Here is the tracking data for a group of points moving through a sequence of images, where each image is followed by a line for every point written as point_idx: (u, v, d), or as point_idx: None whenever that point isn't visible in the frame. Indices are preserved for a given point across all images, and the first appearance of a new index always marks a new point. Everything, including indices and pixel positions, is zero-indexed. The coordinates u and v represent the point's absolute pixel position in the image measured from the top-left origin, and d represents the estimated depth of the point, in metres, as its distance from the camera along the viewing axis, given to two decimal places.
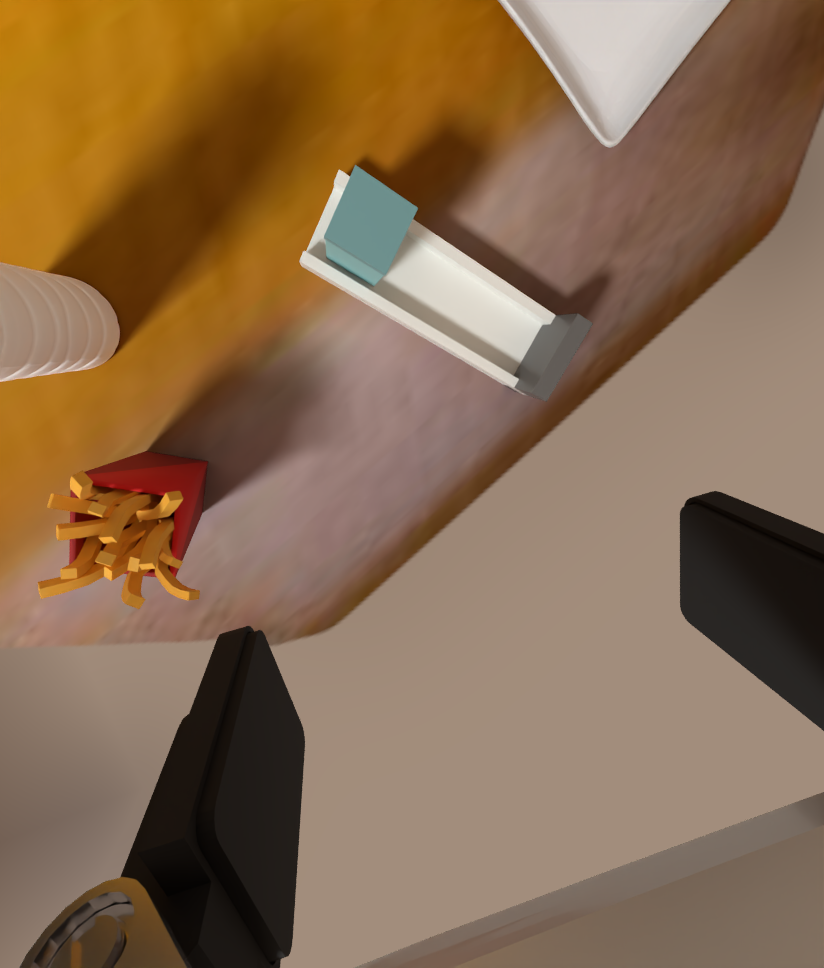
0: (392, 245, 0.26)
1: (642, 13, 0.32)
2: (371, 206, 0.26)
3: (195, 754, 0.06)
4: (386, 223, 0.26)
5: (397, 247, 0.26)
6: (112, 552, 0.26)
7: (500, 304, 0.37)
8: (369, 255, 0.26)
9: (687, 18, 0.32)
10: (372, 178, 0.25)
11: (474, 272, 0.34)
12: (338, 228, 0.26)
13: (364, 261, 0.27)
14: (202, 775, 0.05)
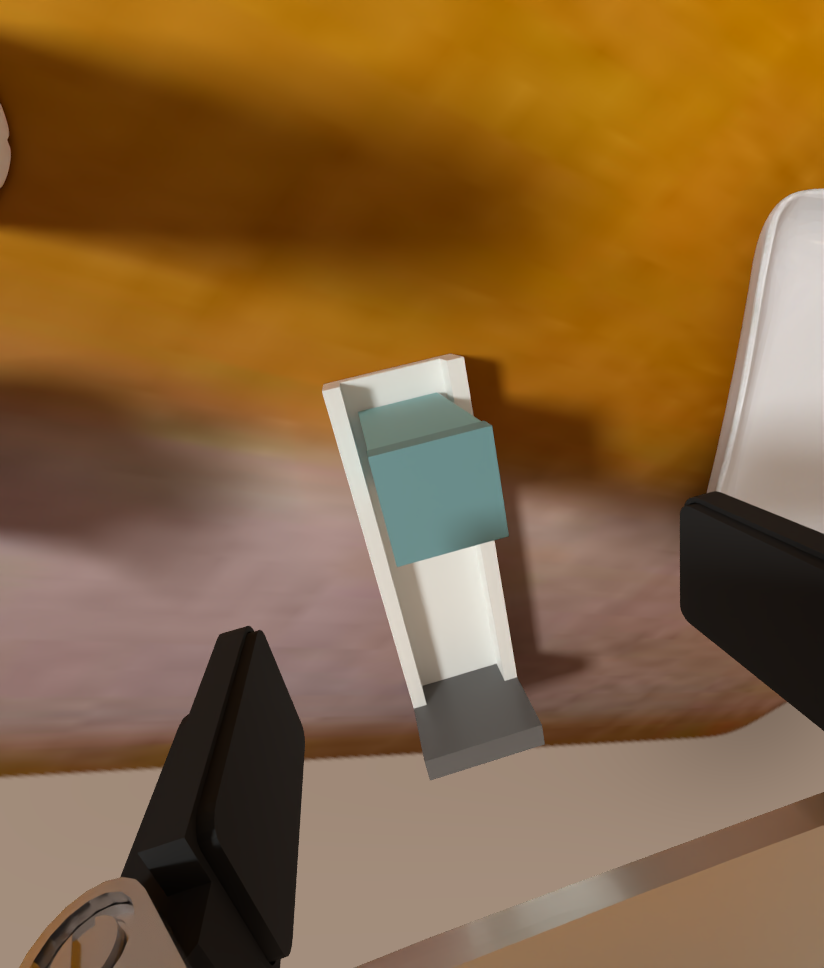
0: (438, 545, 0.15)
1: (800, 504, 0.28)
2: (461, 484, 0.15)
3: (195, 754, 0.06)
4: (457, 517, 0.15)
5: (441, 552, 0.15)
6: None
7: (479, 614, 0.27)
8: (400, 528, 0.15)
9: None
10: (493, 459, 0.15)
11: (487, 576, 0.24)
12: (395, 467, 0.14)
13: (386, 527, 0.15)
14: (202, 776, 0.05)
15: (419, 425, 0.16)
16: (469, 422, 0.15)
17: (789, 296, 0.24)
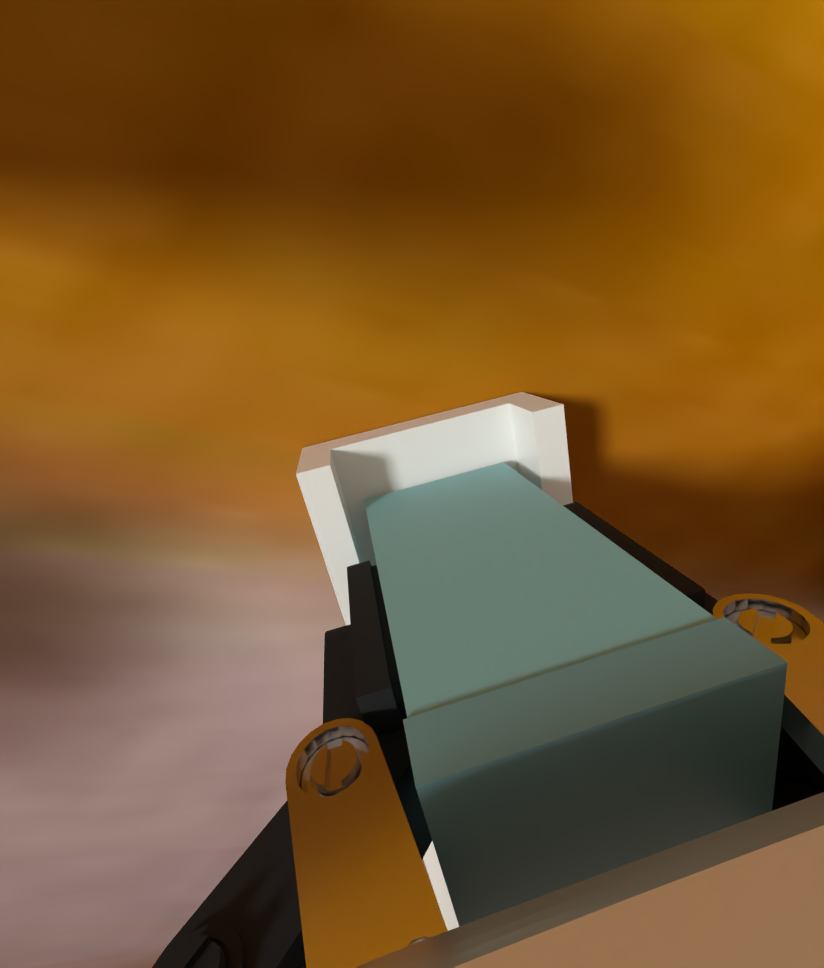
0: None
1: None
2: (673, 808, 0.05)
3: (371, 640, 0.07)
4: None
5: None
6: None
7: None
8: None
9: None
10: (772, 741, 0.05)
11: None
12: (498, 798, 0.05)
13: None
14: (385, 652, 0.07)
15: (519, 590, 0.07)
16: (670, 610, 0.06)
17: None
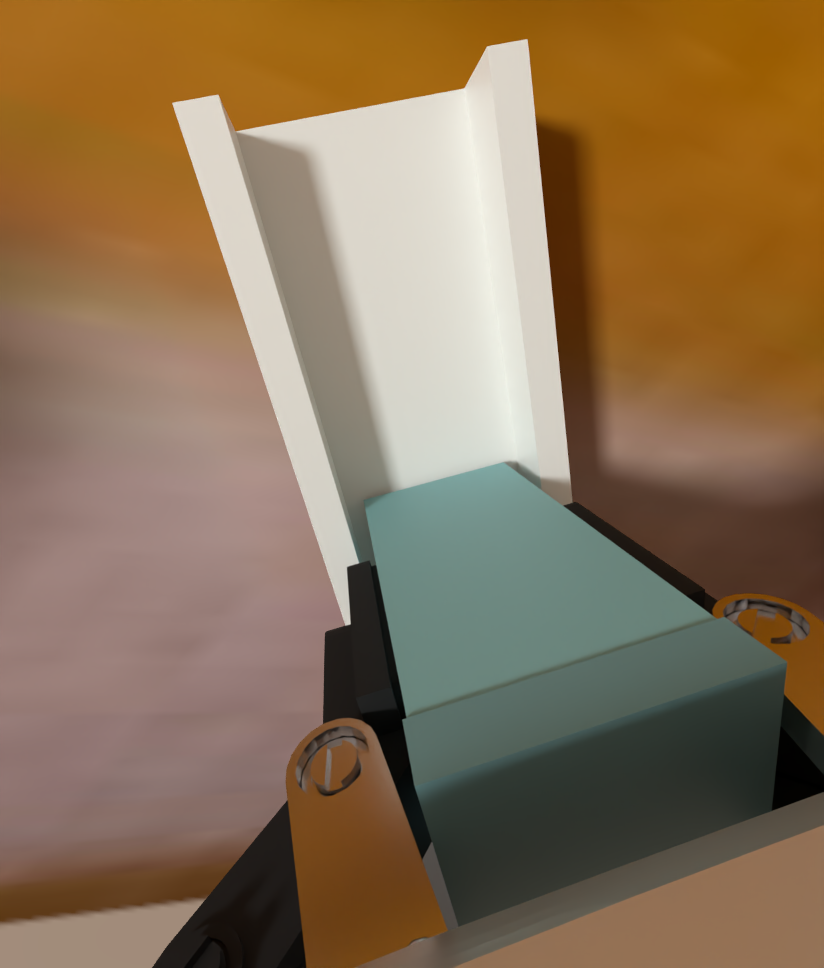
0: None
1: None
2: (673, 808, 0.05)
3: (371, 640, 0.07)
4: None
5: None
6: None
7: None
8: None
9: None
10: (771, 741, 0.05)
11: None
12: (498, 798, 0.05)
13: None
14: (384, 653, 0.07)
15: (519, 590, 0.07)
16: (670, 610, 0.06)
17: None
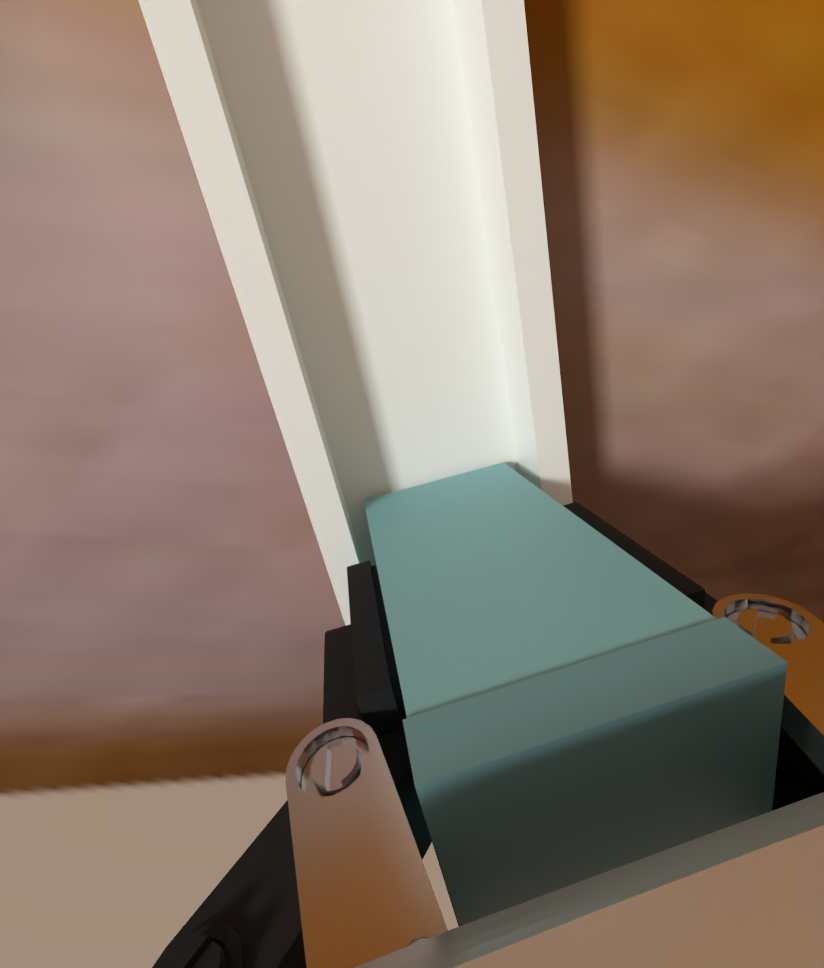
0: None
1: None
2: (674, 808, 0.05)
3: (370, 640, 0.07)
4: None
5: None
6: None
7: None
8: None
9: None
10: (771, 741, 0.05)
11: (526, 329, 0.10)
12: (498, 798, 0.05)
13: None
14: (384, 652, 0.07)
15: (519, 590, 0.07)
16: (670, 610, 0.06)
17: None
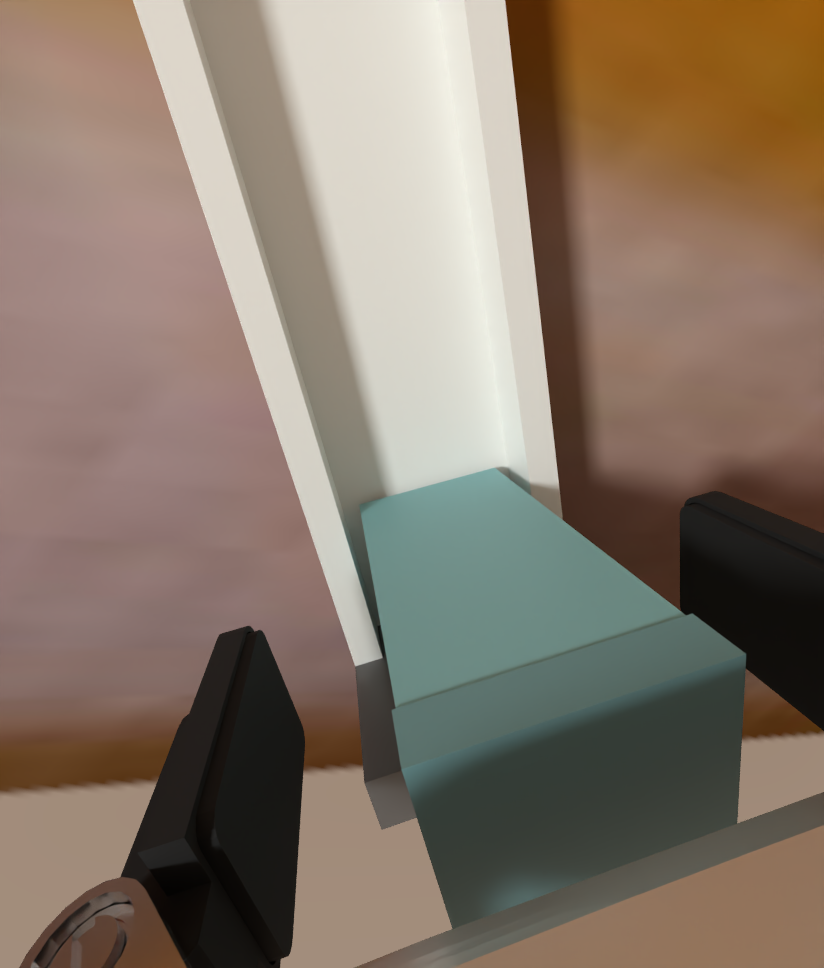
0: None
1: None
2: (645, 793, 0.06)
3: (195, 754, 0.06)
4: (625, 859, 0.06)
5: None
6: None
7: (492, 466, 0.13)
8: (481, 898, 0.06)
9: None
10: (734, 727, 0.05)
11: (513, 338, 0.10)
12: (479, 781, 0.05)
13: None
14: (202, 776, 0.05)
15: (504, 590, 0.07)
16: (643, 608, 0.06)
17: None
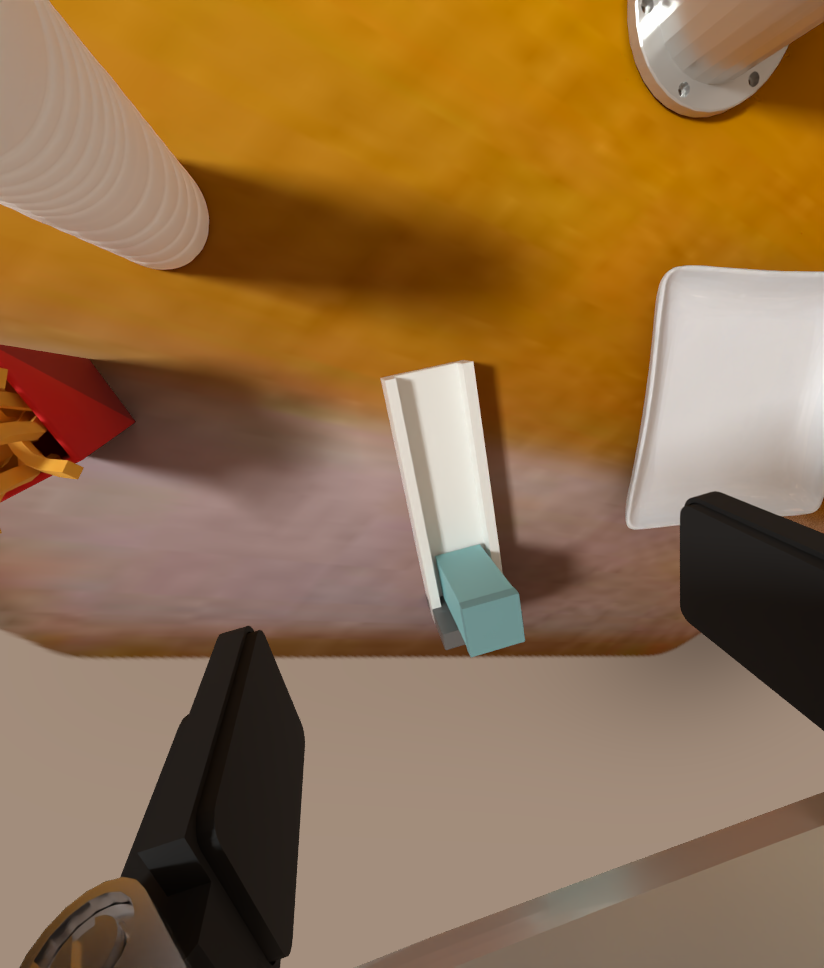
0: (491, 646, 0.31)
1: (702, 472, 0.41)
2: (503, 619, 0.31)
3: (195, 754, 0.06)
4: (501, 633, 0.31)
5: (492, 649, 0.31)
6: None
7: (478, 543, 0.38)
8: (474, 639, 0.31)
9: None
10: (519, 607, 0.31)
11: (485, 511, 0.36)
12: (474, 613, 0.30)
13: (467, 638, 0.31)
14: (202, 776, 0.05)
15: (480, 583, 0.33)
16: (506, 586, 0.31)
17: (682, 329, 0.36)
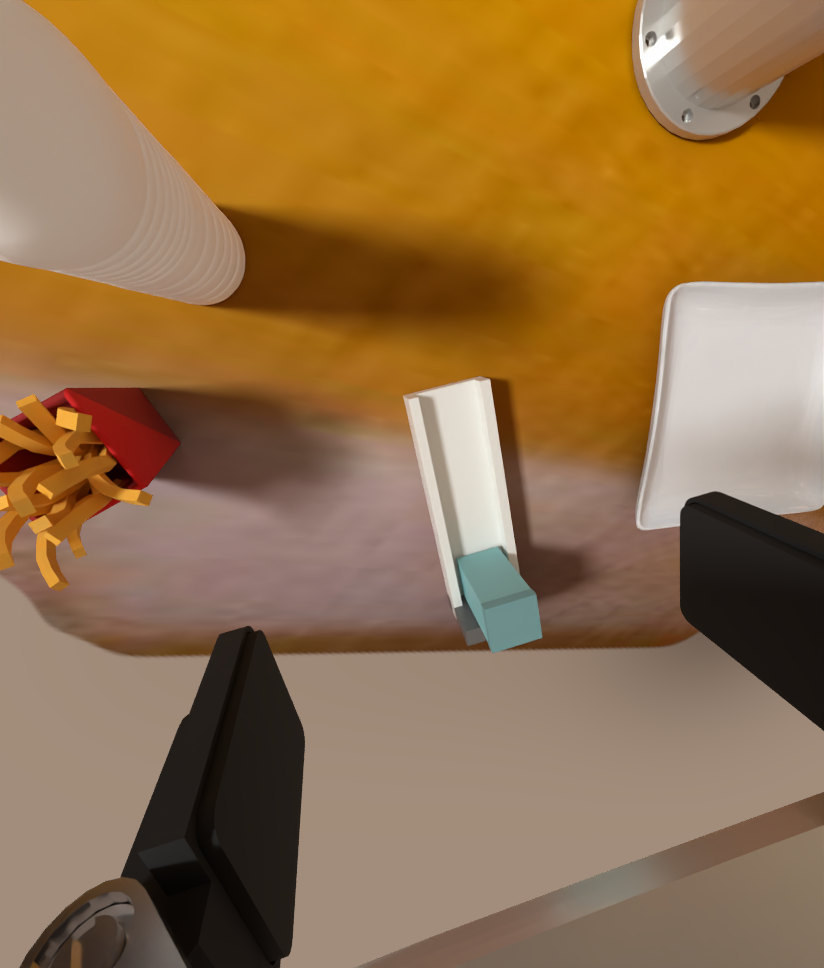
0: (511, 643, 0.34)
1: (709, 473, 0.43)
2: (522, 617, 0.33)
3: (195, 754, 0.06)
4: (520, 631, 0.34)
5: (512, 645, 0.34)
6: (29, 490, 0.22)
7: (496, 545, 0.41)
8: (495, 636, 0.34)
9: None
10: (536, 606, 0.33)
11: (502, 516, 0.38)
12: (495, 612, 0.33)
13: (489, 636, 0.34)
14: (202, 775, 0.05)
15: (499, 584, 0.35)
16: (524, 587, 0.34)
17: (687, 340, 0.38)
